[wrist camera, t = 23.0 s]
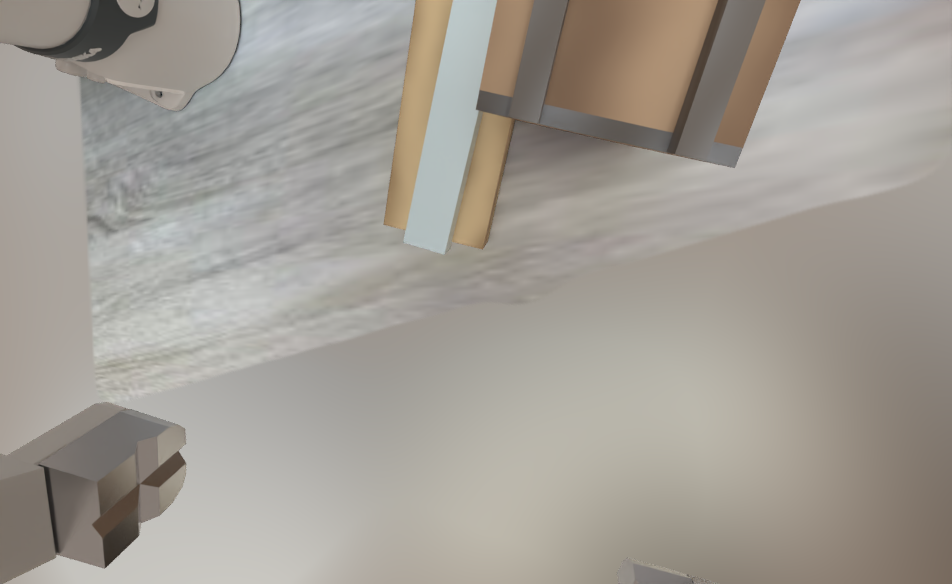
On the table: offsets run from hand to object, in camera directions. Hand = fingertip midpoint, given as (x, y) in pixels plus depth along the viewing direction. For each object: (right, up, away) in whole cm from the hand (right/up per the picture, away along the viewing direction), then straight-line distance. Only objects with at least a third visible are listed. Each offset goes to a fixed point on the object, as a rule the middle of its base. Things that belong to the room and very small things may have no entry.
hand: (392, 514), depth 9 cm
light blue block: (0, +19, +34) cm, 39 cm away
